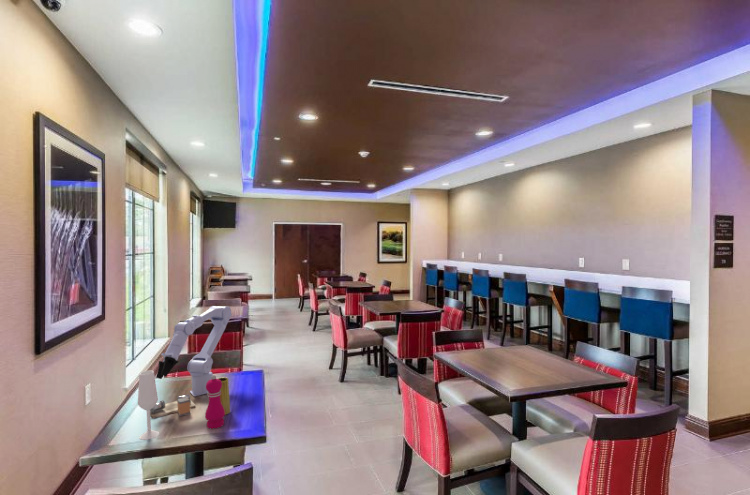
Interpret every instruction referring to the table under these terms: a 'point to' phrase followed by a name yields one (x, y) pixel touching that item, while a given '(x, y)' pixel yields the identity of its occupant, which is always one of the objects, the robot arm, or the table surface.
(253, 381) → the table surface
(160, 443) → the table surface
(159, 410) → the shaft
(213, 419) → the pepper mill
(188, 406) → the orange rectangular block
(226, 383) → the vase
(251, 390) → the table surface
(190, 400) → the shaft
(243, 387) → the table surface
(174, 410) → the plate
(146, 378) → the champagne flute
